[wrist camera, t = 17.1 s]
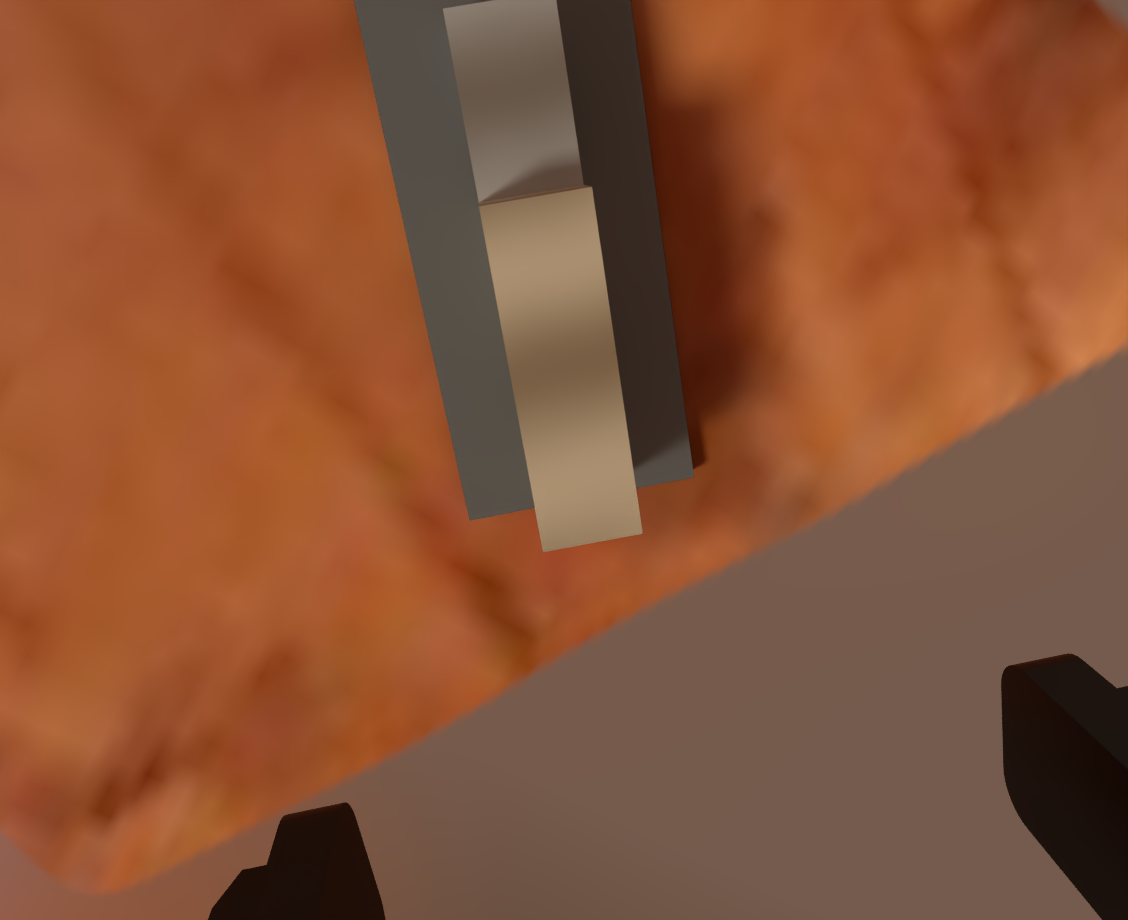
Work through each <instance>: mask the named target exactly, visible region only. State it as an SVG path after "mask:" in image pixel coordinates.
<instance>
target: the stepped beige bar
mask: <svg viewBox="0 0 1128 920" xmlns="http://www.w3.org/2000/svg"><path fill="white" fill-rule="evenodd" d="M443 12H444V18H445V23H446V29H447V34H448V39H449V45H450V50H451V56H452V61H453V66H454V72H455V77H456V82H457V88H458V93H459V99H460V104H461V109H462V115H463V120H464V126H465V131H466V136H467V142H468V147H469V152H470V158H471V163H472V169H473V174H474V179H475V185H476V190H477V196H478V201H479V210H480V215H481V221H482V226H483V231H484V237H485V242H486V248H487V253H488V258H489V264H490V269H491V274H492V280H493V285H494V291H495V296H496V301H497V307H498V312H499V318H500V323H501V328H502V334H503V339H504V344H505V350H506V355H507V361H508V366H509V371H510V377H511V382H512V387H513V393H514V398H515V404H516V409H517V414H518V420H519V425H520V430H521V436H522V441H523V447H524V452H525V457H526V463H527V468H528V474H529V479H530V484H531V490H532V495H533V500H534V506H535V511H536V517H537V522H538V527H539V533H540V538H541V543H542V549H543V552H546V551H552V550H557V549H562V548H568V547H573V546H578V545H584V544H589V543H595V542H600V541H605V540H611V539H616V538H622V537H627V536H632V535H638V534H643V533H642V526H641V519H640V513H639V506H638V499H637V492H636V485H635V478H634V471H633V465H632V458H631V451H630V444H629V437H628V430H627V423H626V417H625V410H624V403H623V396H622V389H621V382H620V376H619V369H618V362H617V355H616V348H615V341H614V334H613V328H612V321H611V314H610V307H609V300H608V293H607V286H606V280H605V273H604V266H603V259H602V252H601V245H600V239H599V232H598V225H597V218H596V211H595V204H594V197H593V191H592V187H591V186H587V185H584V183H583V177H582V170H581V163H580V157H579V150H578V143H577V136H576V130H575V123H574V116H573V110H572V103H571V96H570V89H569V83H568V76H567V69H566V62H565V56H564V49H563V42H562V36H561V29H560V22H559V15H558V9H557V2H556V0H492V1H486V2H480V3H474V4H468V5H462V6H456V7H450V8H444V9H443Z"/></svg>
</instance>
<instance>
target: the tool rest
mask: <svg viewBox="0 0 1128 920" xmlns="http://www.w3.org/2000/svg"><path fill="white" fill-rule="evenodd" d="M486 1H492V0H354V3H355V7H356V12H357V16H358V21H359V25H360V30H361V34H362V39H363V43H364V48H365V52H366V57H367V61H368V66H369V70H370V75H371V79H372V84H373V88H374V93H375V97H376V102H377V106H378V111H379V115H380V120H381V124H382V129H383V133H384V138H385V142H386V147H387V151H388V156H389V160H390V165H391V169H392V173H393V178H394V182H395V187H396V191H397V196H398V200H399V205H400V209H401V214H402V218H403V223H404V227H405V232H406V236H407V241H408V245H409V250H410V254H411V259H412V263H413V268H414V272H415V277H416V281H417V286H418V290H419V295H420V299H421V304H422V308H423V313H424V317H425V322H426V326H427V331H428V335H429V340H430V344H431V349H432V353H433V358H434V362H435V367H436V371H437V376H438V380H439V385H440V389H441V394H442V398H443V403H444V407H445V412H446V416H447V421H448V425H449V430H450V434H451V439H452V443H453V448H454V452H455V457H456V461H457V466H458V470H459V475H460V479H461V484H462V488H463V493H464V497H465V502H466V506H467V511H468V515H469V520H475V519H480V518H485V517H490V516H495V515H501V514H506V513H511V512H516V511H521V510H526V509H532V508H535V506H534V500H533V495H532V490H531V484H530V479H529V474H528V468H527V463H526V457H525V452H524V447H523V441H522V436H521V430H520V425H519V420H518V414H517V409H516V404H515V398H514V393H513V387H512V382H511V377H510V371H509V366H508V361H507V355H506V350H505V344H504V339H503V334H502V328H501V323H500V318H499V312H498V307H497V301H496V296H495V291H494V285H493V280H492V274H491V269H490V264H489V258H488V253H487V248H486V242H485V237H484V231H483V226H482V221H481V215H480V210H479V201H478V196H477V190H476V185H475V179H474V174H473V169H472V163H471V158H470V152H469V147H468V142H467V136H466V131H465V126H464V120H463V115H462V109H461V104H460V99H459V93H458V88H457V82H456V77H455V72H454V66H453V61H452V56H451V50H450V45H449V39H448V34H447V29H446V23H445V18H444V12H443V9H444V8H450V7H456V6H462V5H468V4H474V3H480V2H486ZM556 2H557V9H558V15H559V22H560V29H561V36H562V42H563V49H564V56H565V62H566V69H567V76H568V83H569V89H570V96H571V103H572V110H573V116H574V123H575V130H576V136H577V143H578V150H579V157H580V163H581V170H582V177H583V183H584V185H587V186H591V187H592V191H593V197H594V204H595V211H596V218H597V225H598V232H599V239H600V245H601V252H602V259H603V266H604V273H605V280H606V286H607V293H608V300H609V307H610V314H611V321H612V328H613V334H614V341H615V348H616V355H617V362H618V369H619V376H620V382H621V389H622V396H623V403H624V410H625V417H626V423H627V430H628V437H629V444H630V451H631V458H632V465H633V471H634V478H635V485H636V488H640V487H645V486H651V485H656V484H661V483H666V482H671V481H676V480H682V479H687V478H692V477H694V473H693V465H692V458H691V450H690V443H689V435H688V428H687V420H686V413H685V405H684V398H683V390H682V383H681V375H680V368H679V360H678V353H677V345H676V338H675V330H674V323H673V315H672V308H671V300H670V293H669V285H668V278H667V270H666V263H665V255H664V248H663V240H662V233H661V225H660V218H659V210H658V203H657V195H656V188H655V180H654V173H653V165H652V158H651V150H650V143H649V135H648V128H647V120H646V113H645V105H644V98H643V90H642V83H641V75H640V68H639V60H638V53H637V45H636V38H635V30H634V23H633V15H632V8H631V0H556Z"/></svg>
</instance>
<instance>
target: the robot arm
mask: <svg viewBox="0 0 1128 920" xmlns="http://www.w3.org/2000/svg"><path fill="white" fill-rule="evenodd" d="M1001 690H1002V691H1001V692H1002V727H1003V728H1002V729H1003V767H1004V776H1005V782H1006V786H1007V789H1008V793H1009V795H1010V798H1011V801H1012V803H1013V805H1014V808H1015V810H1016V811H1017V813H1018V815H1019V817H1020V818H1021V820H1022V822H1023V823H1024V824H1025V826H1026V827H1027V828H1028V830H1029V831H1030V832H1031V833H1032V834H1033V836H1034V837H1035V838H1036V839H1037V841H1038V842H1039V843H1040V844H1041V846H1042V847H1043V848H1044V849H1045V850H1046V852H1047V853H1048V854H1049V855H1050V856H1051V858H1052V859H1053V860H1054V861H1055V863H1056V864H1057V865H1058V866H1059V868H1060V869H1061V870H1062V871H1063V872H1064V874H1065V875H1066V876H1067V877H1068V878H1069V880H1070V881H1071V882H1072V883H1073V885H1075V887H1076V888H1077V890H1078V891H1079V892H1080V893H1081V894H1082V896H1083V897H1084V898H1085V899H1086V901H1087V902H1088V903H1089V904H1090V905H1091V907H1092V908H1093V909H1094V910H1095V912H1096V913H1097V914H1098V915H1099V916H1100V918H1101V919H1102V920H1128V686H1126V687H1122V688H1116V687H1114V686H1113V685H1112V684H1111V683H1109V682H1108V681H1107V680H1106V679H1105V678H1104V677H1102V676H1101V675H1100V674H1099V673H1098V672H1096V671H1095V670H1094V669H1093V668H1092V667H1090V666H1089V665H1088V664H1087V663H1086V662H1084V661H1083V660H1082V659H1080V658H1079V657H1078V656H1075V655H1073V654H1063V655H1058V656H1053V657H1049V658H1044V659H1039V660H1034V661H1030V662H1025V663H1020V664H1016V665H1010V666H1008V667H1006V668H1005V670H1004V672H1003V674H1002V679H1001ZM208 920H385V915H384V910H383V905H382V901H381V897H380V894H379V891H378V888H377V884H376V881H375V878H374V875H373V872H372V868H371V865H370V862H369V859H368V855H367V852H366V849H365V846H364V843H363V839H362V836H361V833H360V830H359V827H358V824H357V820H356V817H355V814H354V812H353V810H352V808H351V806H350V805H349V804H348V803H340V804H335V805H331V806H326V807H321V808H316V809H312V810H307V811H303V812H297V813H292V814H288V815H285V816H283V817H282V819H281V821H280V824H279V826H278V829H277V832H276V836H275V839H274V842H273V846H272V849H271V852H270V856H269V859H268V862H267V865H264V866H259V867H255V868H250V869H245V870H242V871H241V872H240V874H239V875H238V876H237V877H236V879H235V880H234V881H233V882H232V884H231V885H230V886H229V888H228V889H227V890H226V891H225V893H224V894H223V895H222V896H221V898H220V899H219V900H218V902H217V903H216V904H215V905H214V907H213V908H212V910H211V913H210V915H209V918H208Z"/></svg>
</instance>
